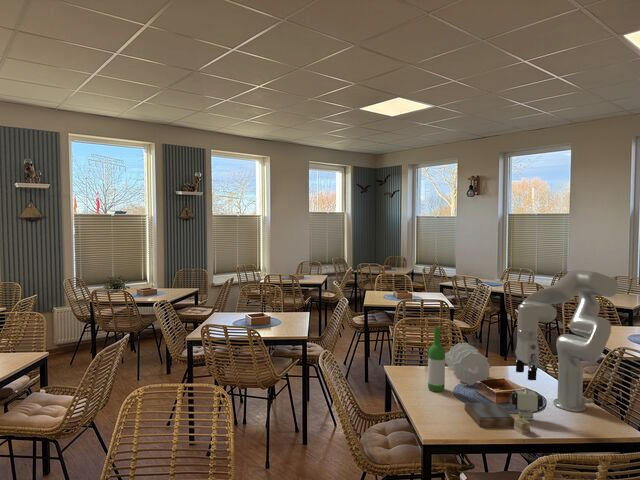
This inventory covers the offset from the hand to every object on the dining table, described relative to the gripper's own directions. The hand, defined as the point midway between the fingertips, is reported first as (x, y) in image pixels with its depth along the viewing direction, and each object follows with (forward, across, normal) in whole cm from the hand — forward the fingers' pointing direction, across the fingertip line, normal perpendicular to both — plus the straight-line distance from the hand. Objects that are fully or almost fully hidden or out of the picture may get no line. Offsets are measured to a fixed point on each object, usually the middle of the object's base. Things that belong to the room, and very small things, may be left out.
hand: (525, 376), depth 184 cm
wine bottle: (+18, +33, +26) cm, 46 cm away
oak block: (+18, -11, +6) cm, 22 cm away
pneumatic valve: (+18, 0, -1) cm, 18 cm away
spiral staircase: (+18, +47, +6) cm, 51 cm away
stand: (+18, +1, +14) cm, 23 cm away
